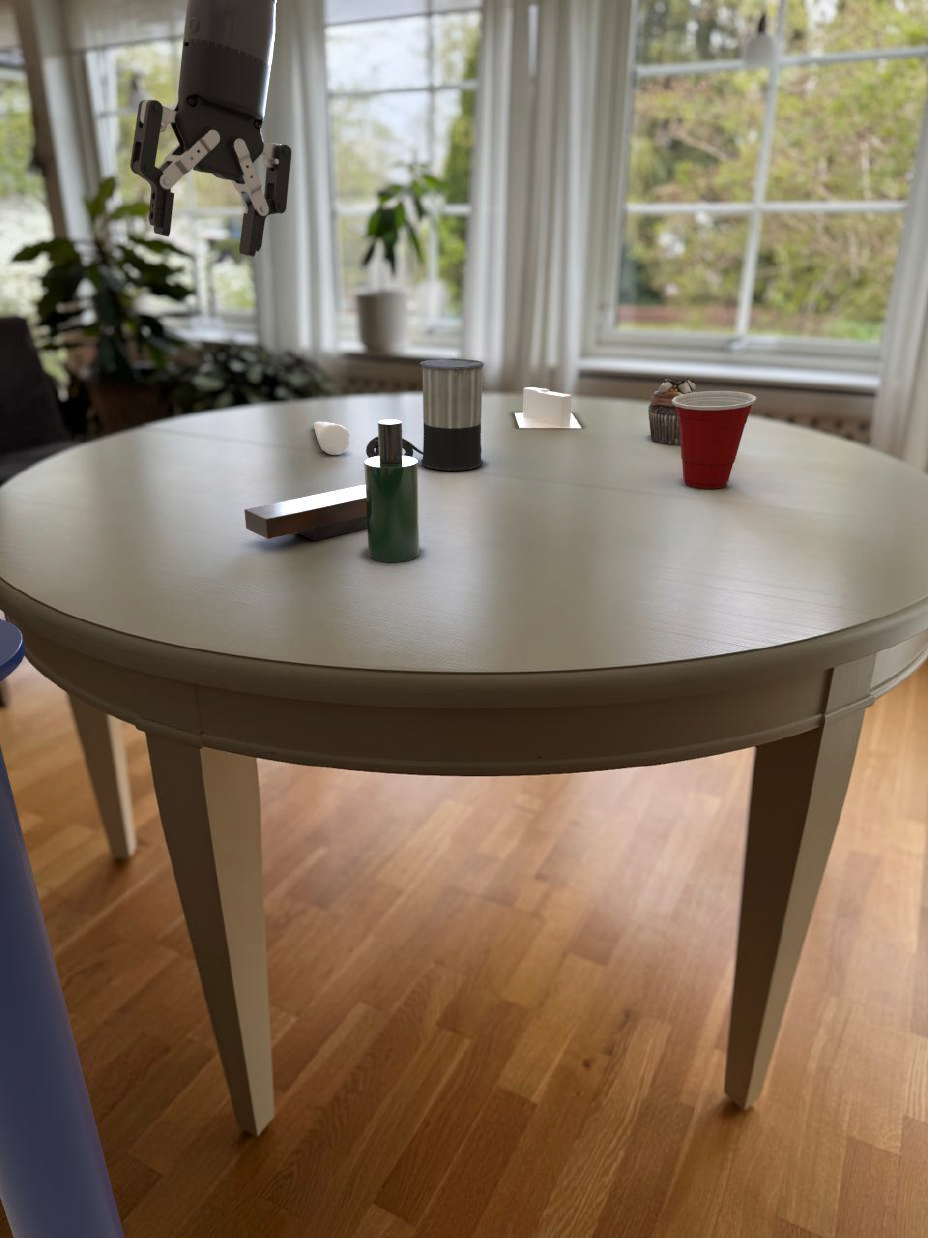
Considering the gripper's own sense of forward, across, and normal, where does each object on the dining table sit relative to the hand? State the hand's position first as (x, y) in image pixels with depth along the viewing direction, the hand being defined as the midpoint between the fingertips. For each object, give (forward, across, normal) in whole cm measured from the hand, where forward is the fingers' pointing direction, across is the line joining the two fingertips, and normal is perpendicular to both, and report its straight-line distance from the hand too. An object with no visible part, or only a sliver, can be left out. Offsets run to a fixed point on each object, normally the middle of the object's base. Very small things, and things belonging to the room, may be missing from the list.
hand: (205, 245), depth 81 cm
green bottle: (+26, -18, +15) cm, 35 cm away
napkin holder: (+16, -82, -28) cm, 89 cm away
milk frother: (+23, -45, -15) cm, 52 cm away
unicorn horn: (+26, -41, -38) cm, 62 cm away
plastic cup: (+15, -67, +18) cm, 71 cm away
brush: (+27, -17, +4) cm, 32 cm away
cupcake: (+13, -87, -3) cm, 88 cm away
